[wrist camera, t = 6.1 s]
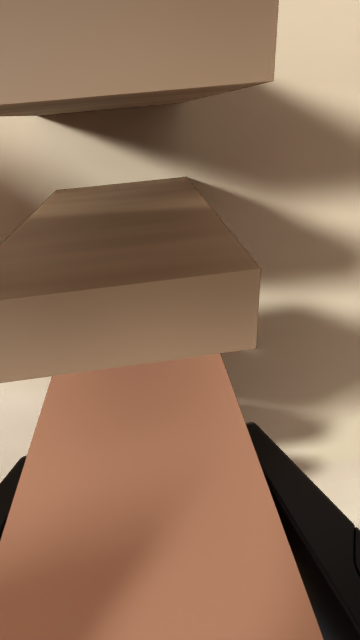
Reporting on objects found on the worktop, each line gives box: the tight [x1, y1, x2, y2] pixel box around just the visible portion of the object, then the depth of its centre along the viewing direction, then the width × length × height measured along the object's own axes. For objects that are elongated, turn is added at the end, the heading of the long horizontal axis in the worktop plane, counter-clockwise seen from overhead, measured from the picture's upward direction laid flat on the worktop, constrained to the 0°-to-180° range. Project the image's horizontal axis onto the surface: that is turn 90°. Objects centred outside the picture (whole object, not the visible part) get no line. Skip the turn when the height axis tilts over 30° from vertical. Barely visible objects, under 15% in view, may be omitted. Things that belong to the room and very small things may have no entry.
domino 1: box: [0, 0, 279, 116], centre depth 8 cm, size 2×6×10 cm, turn 94°
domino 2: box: [0, 177, 261, 383], centre depth 10 cm, size 2×6×10 cm, turn 94°
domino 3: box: [0, 353, 324, 640], centre depth 8 cm, size 2×6×10 cm, turn 94°
